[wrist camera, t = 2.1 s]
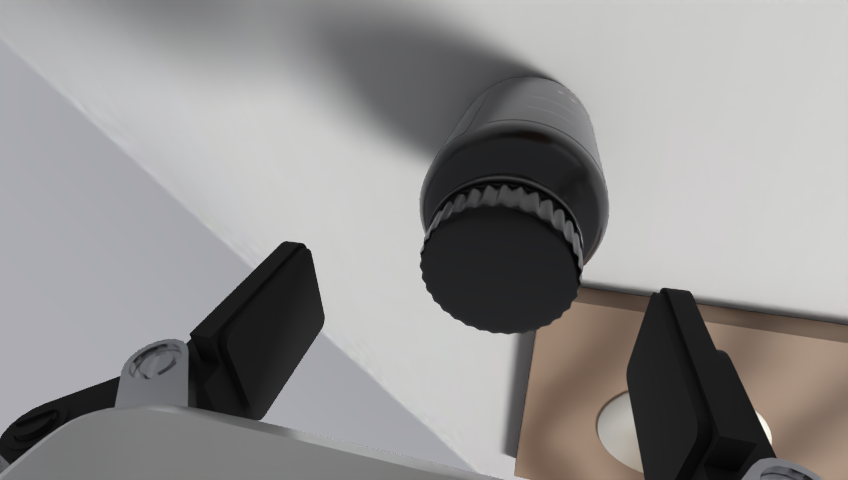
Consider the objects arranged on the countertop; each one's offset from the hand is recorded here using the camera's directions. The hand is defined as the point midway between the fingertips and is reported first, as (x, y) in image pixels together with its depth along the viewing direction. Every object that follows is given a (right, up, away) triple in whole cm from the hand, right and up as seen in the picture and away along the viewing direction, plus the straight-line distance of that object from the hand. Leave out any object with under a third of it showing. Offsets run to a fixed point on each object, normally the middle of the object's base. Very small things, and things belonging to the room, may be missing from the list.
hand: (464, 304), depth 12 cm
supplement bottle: (+4, +7, +10) cm, 13 cm away
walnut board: (+16, -10, +17) cm, 26 cm away
